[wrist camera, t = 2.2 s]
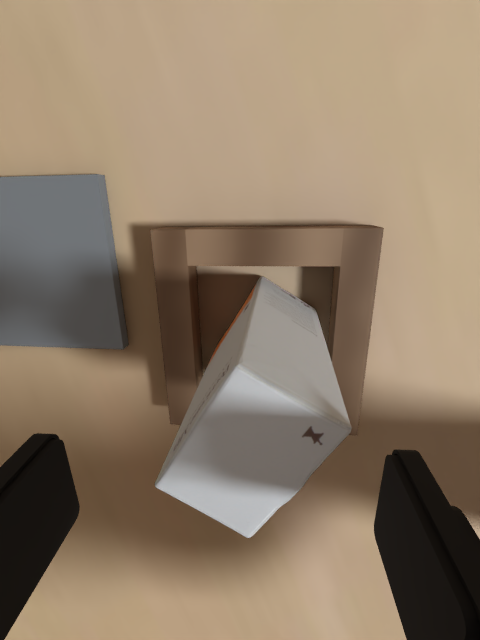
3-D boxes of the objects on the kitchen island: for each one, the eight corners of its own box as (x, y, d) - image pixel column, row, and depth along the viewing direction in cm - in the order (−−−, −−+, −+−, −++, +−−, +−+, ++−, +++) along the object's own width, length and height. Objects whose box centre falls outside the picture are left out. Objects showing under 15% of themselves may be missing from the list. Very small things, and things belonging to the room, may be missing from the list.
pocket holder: (373, 225, 19) (383, 227, 17) (350, 416, 23) (357, 435, 21) (162, 227, 20) (150, 229, 18) (178, 407, 25) (170, 424, 23)
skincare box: (260, 272, 20) (237, 358, 9) (317, 308, 21) (361, 431, 10) (213, 346, 23) (148, 489, 11) (265, 377, 23) (253, 545, 12)
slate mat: (104, 175, 20) (97, 174, 19) (128, 344, 23) (123, 349, 22) (-61, 179, 21) (-74, 178, 20) (-13, 340, 24) (-22, 344, 24)
